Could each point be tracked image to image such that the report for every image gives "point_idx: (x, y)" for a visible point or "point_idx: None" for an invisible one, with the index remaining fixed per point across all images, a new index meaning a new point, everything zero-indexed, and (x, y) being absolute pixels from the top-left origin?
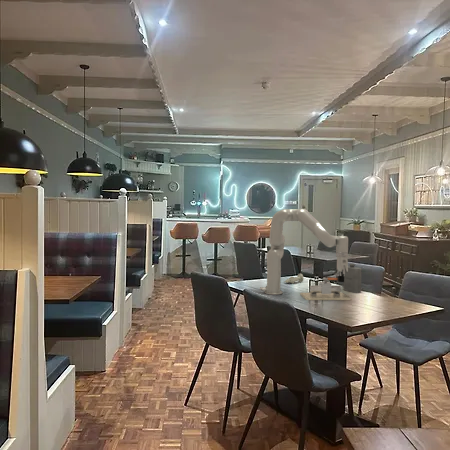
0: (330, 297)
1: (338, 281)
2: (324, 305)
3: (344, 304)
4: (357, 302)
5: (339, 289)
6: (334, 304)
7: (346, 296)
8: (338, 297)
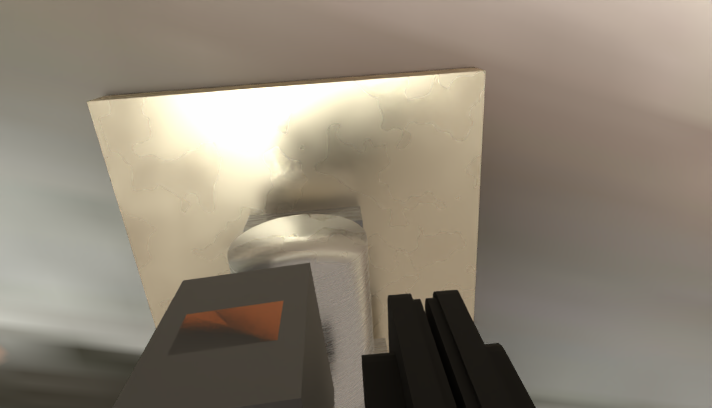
0: None
1: (330, 385)
2: (689, 401)
3: (698, 215)
4: (630, 6)
5: (368, 265)
6: (672, 315)
7: (389, 117)
8: (460, 246)
